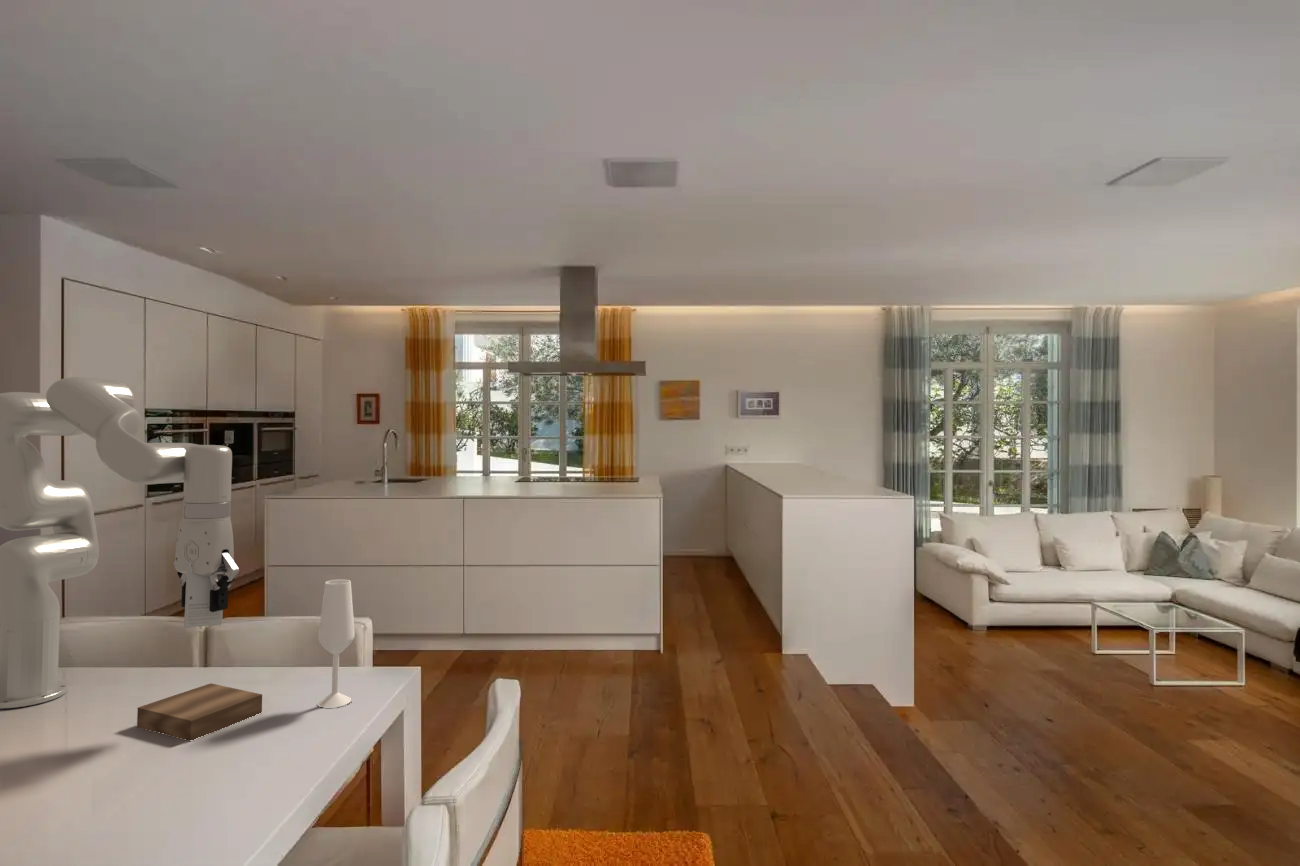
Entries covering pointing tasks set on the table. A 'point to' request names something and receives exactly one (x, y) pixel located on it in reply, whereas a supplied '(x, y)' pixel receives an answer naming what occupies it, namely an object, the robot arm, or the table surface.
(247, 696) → the walnut base
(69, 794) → the table surface
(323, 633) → the champagne flute
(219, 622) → the skincare box
